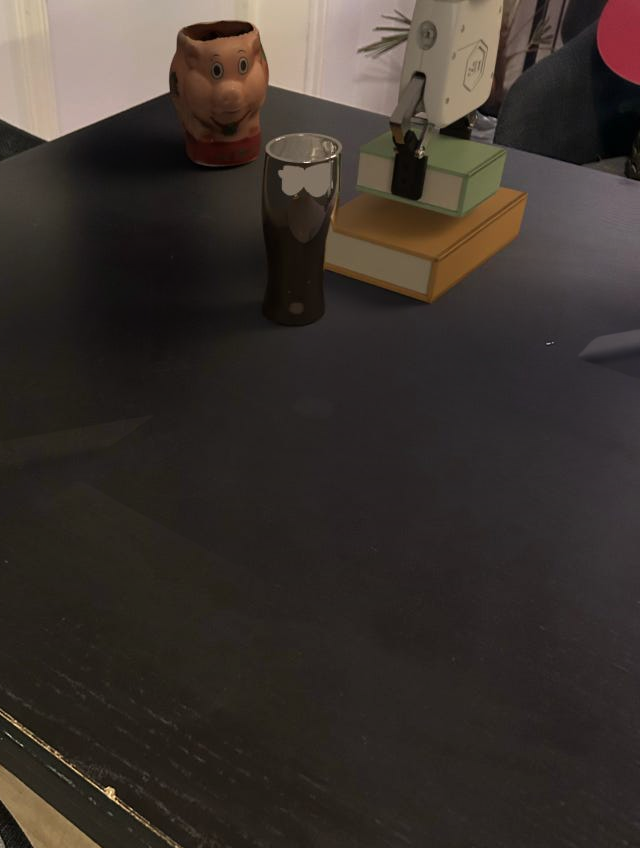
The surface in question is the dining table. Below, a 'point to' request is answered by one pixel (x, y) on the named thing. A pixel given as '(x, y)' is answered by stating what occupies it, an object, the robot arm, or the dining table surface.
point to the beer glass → (299, 223)
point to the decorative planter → (219, 90)
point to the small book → (437, 172)
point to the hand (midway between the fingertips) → (427, 181)
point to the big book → (420, 242)
